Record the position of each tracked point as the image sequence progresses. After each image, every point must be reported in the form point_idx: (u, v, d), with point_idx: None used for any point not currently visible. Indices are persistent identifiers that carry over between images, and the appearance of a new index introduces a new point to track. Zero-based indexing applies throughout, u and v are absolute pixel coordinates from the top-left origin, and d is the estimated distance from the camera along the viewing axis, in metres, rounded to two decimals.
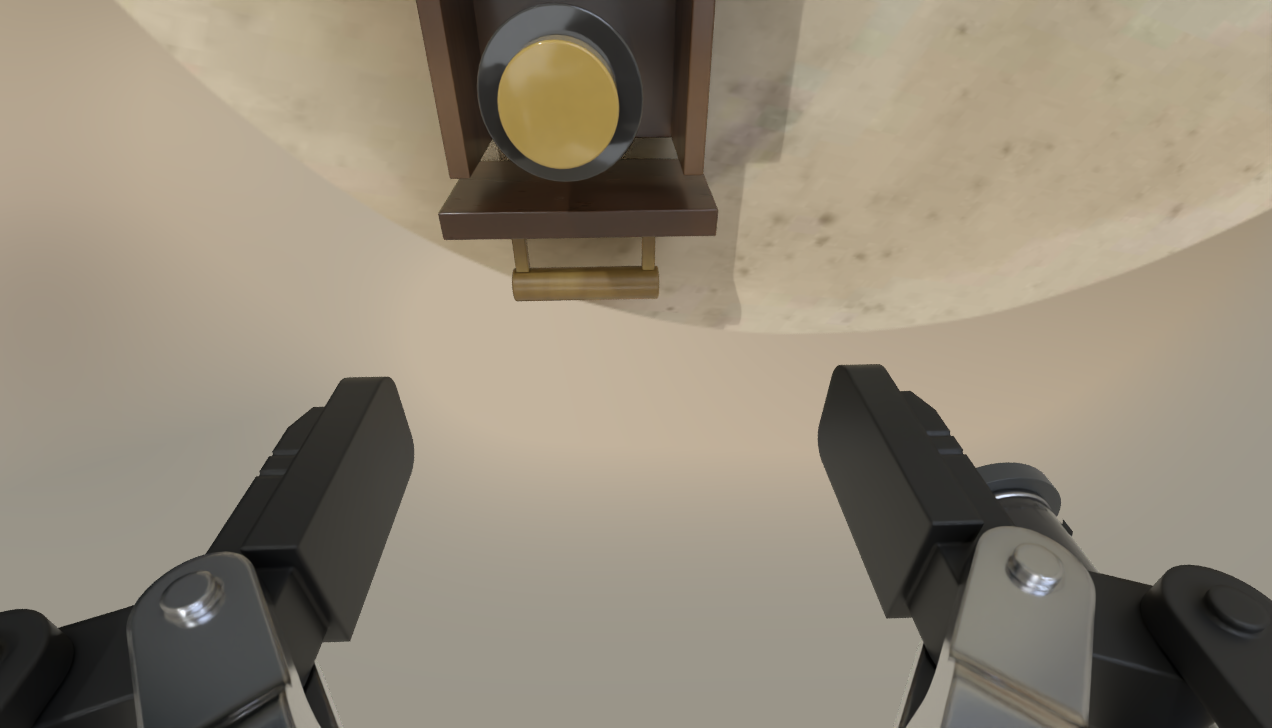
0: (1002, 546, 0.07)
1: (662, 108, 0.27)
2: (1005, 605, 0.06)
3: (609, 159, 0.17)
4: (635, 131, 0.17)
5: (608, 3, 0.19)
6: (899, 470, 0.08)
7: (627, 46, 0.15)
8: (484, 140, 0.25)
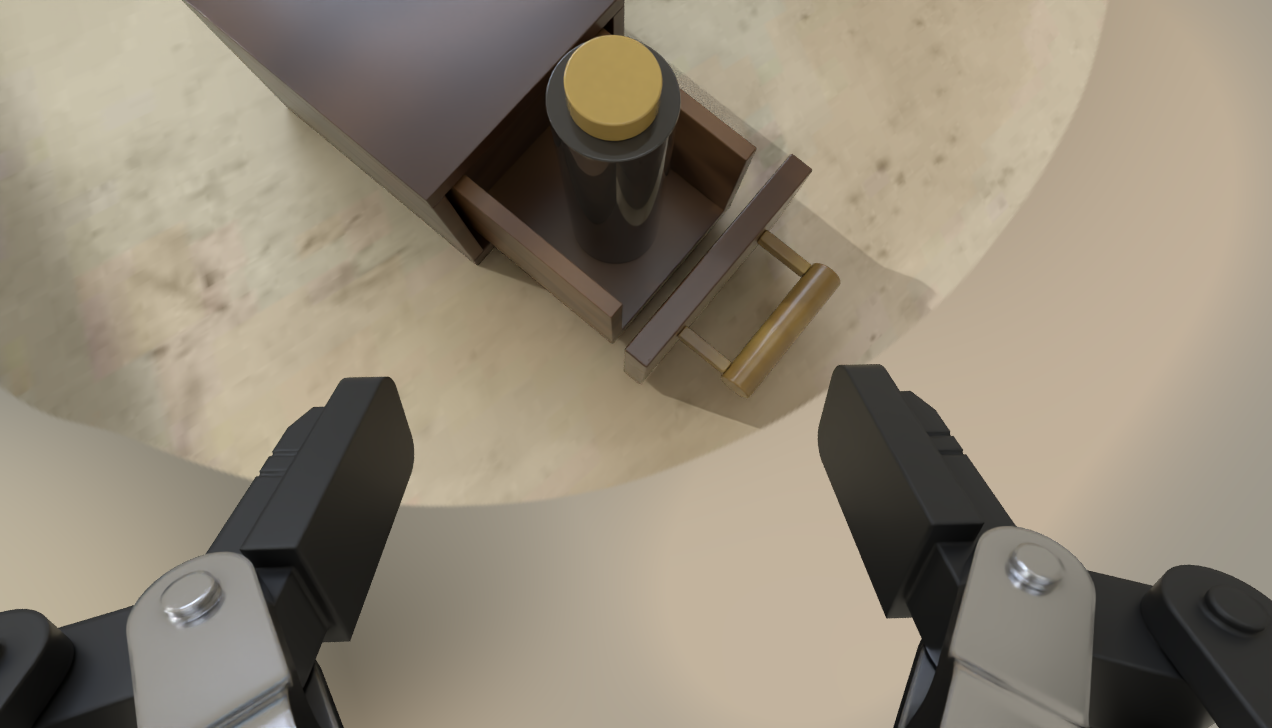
0: (1002, 545, 0.07)
1: (699, 201, 0.31)
2: (1005, 605, 0.06)
3: (675, 100, 0.20)
4: (671, 70, 0.20)
5: None
6: (899, 470, 0.08)
7: None
8: None
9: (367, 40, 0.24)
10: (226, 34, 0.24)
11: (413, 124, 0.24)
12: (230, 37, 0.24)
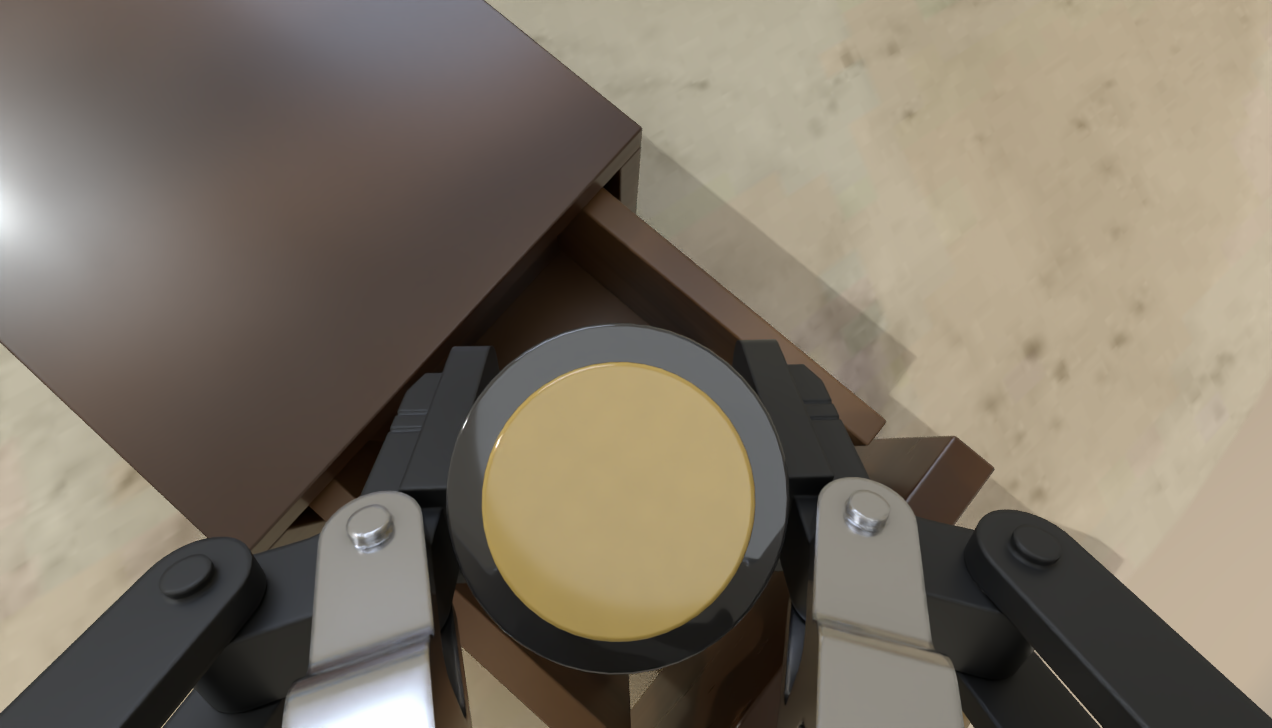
0: (843, 495, 0.08)
1: None
2: (850, 554, 0.07)
3: (775, 496, 0.08)
4: (765, 414, 0.08)
5: None
6: None
7: (635, 325, 0.08)
8: None
9: (141, 225, 0.12)
10: None
11: (220, 399, 0.12)
12: None
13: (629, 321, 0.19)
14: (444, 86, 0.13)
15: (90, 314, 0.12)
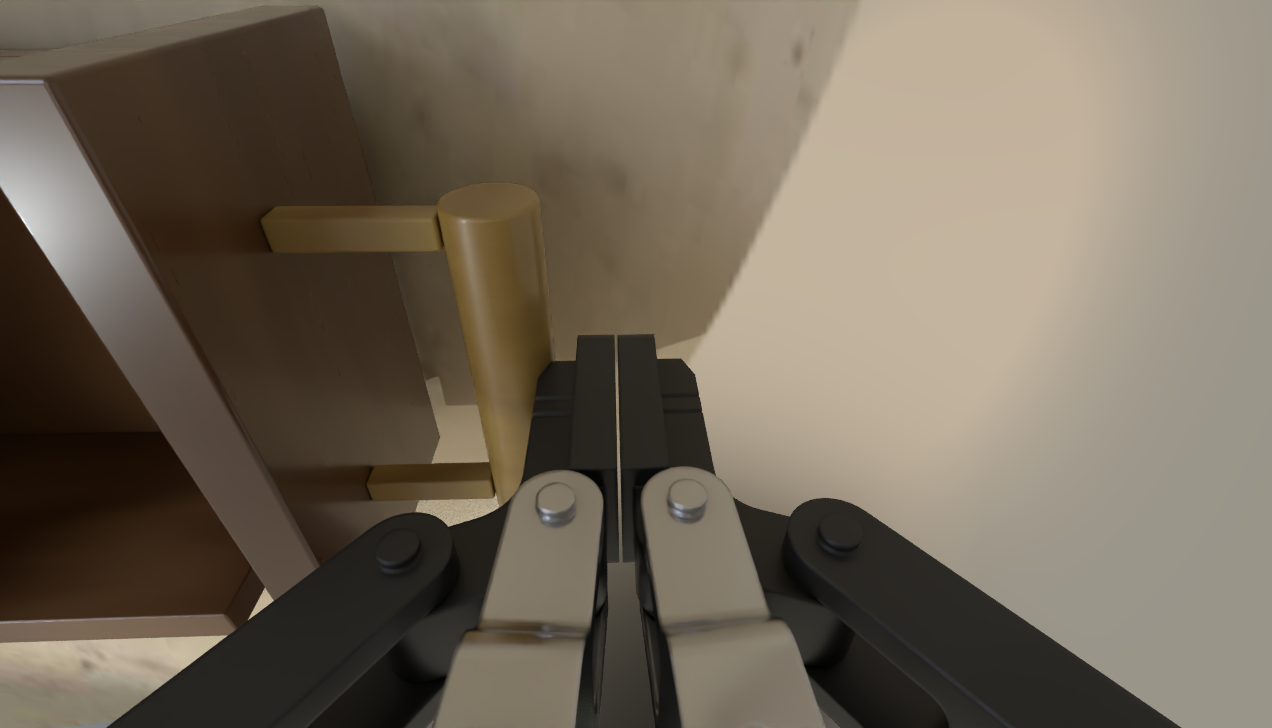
0: (670, 485, 0.08)
1: None
2: (681, 547, 0.07)
3: None
4: None
5: None
6: None
7: None
8: None
9: None
10: None
11: None
12: None
13: None
14: None
15: None
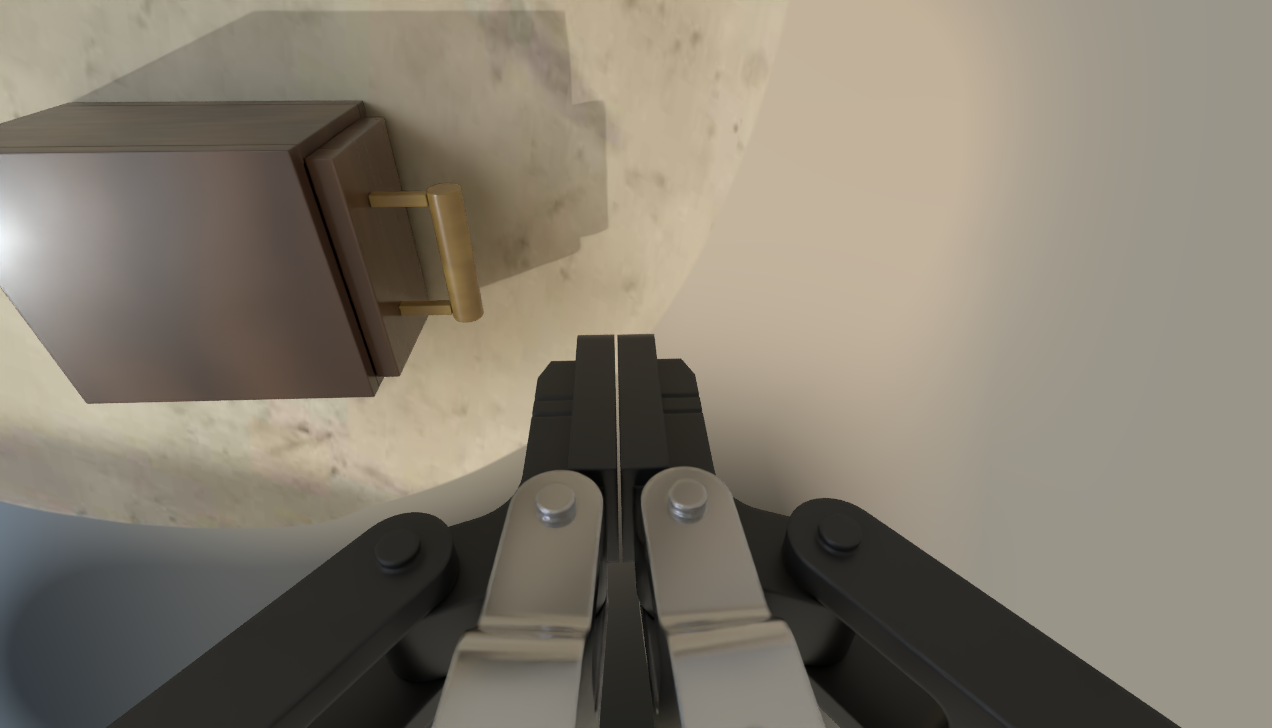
0: (670, 485, 0.08)
1: None
2: (681, 547, 0.07)
3: None
4: None
5: None
6: None
7: None
8: None
9: (212, 342, 0.28)
10: (152, 401, 0.30)
11: (309, 365, 0.29)
12: (156, 401, 0.30)
13: None
14: (207, 206, 0.24)
15: (244, 375, 0.29)
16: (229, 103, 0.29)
